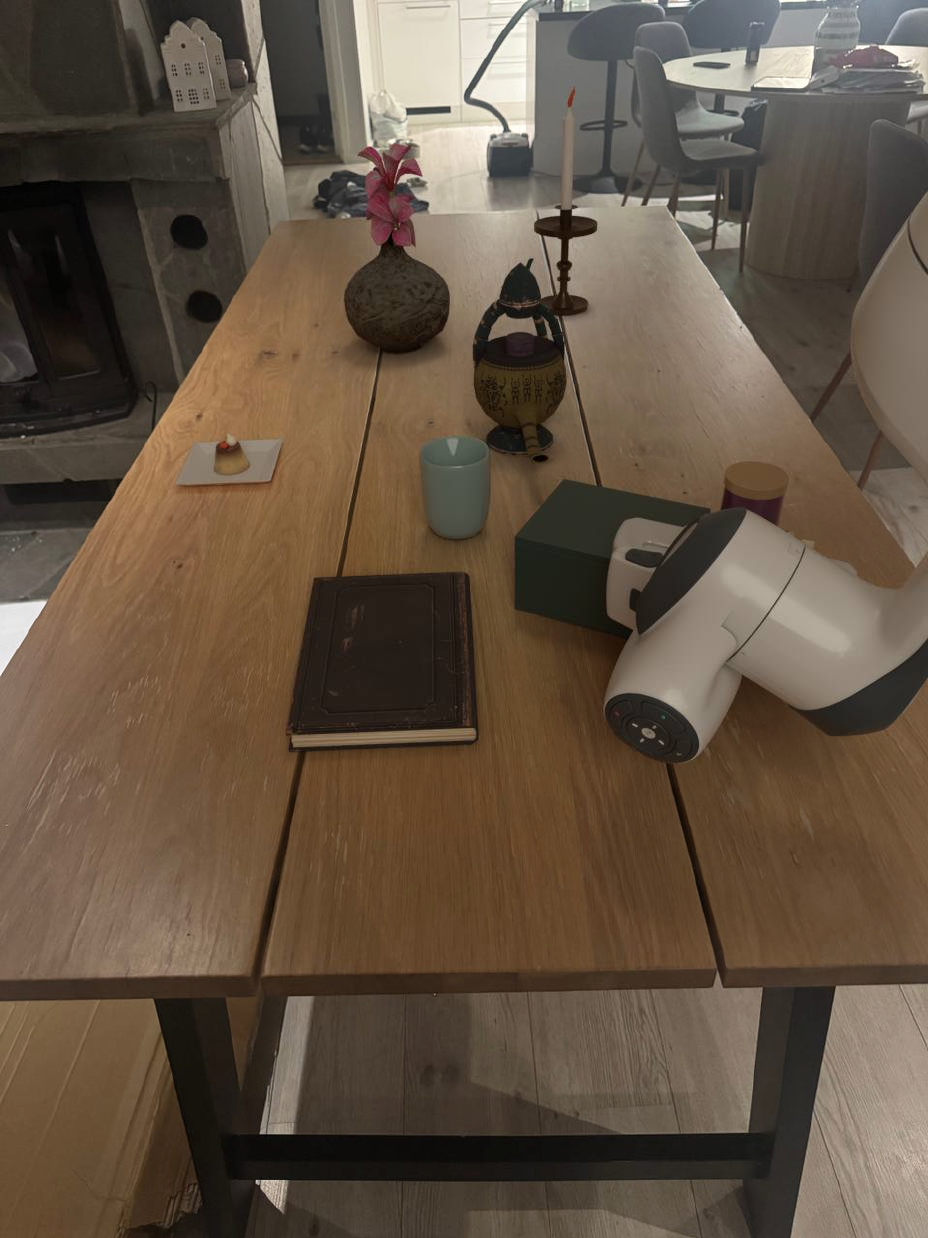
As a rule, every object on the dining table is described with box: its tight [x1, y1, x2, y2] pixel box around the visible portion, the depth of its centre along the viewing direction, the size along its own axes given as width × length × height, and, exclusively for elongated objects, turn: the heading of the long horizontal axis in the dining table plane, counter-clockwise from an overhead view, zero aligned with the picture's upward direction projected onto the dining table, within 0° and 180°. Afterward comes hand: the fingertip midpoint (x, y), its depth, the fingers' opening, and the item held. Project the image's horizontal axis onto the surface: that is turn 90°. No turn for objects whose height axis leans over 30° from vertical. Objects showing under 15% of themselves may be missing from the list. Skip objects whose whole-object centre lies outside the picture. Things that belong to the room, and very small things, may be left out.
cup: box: [418, 435, 492, 540], centre depth 103 cm, size 8×8×10 cm
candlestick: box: [533, 85, 598, 317], centre depth 157 cm, size 11×11×35 cm
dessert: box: [174, 433, 284, 487], centre depth 119 cm, size 12×12×5 cm
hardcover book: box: [284, 571, 479, 753], centre depth 87 cm, size 16×23×2 cm
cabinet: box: [514, 478, 711, 640], centre depth 92 cm, size 16×13×9 cm
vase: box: [343, 142, 451, 355], centre depth 146 cm, size 17×18×30 cm
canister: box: [719, 460, 790, 527], centre depth 84 cm, size 5×5×13 cm
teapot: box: [472, 257, 567, 465], centre depth 114 cm, size 12×25×23 cm, turn 6°
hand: (748, 529), depth 85 cm, fingers closed on canister, 5 cm apart
